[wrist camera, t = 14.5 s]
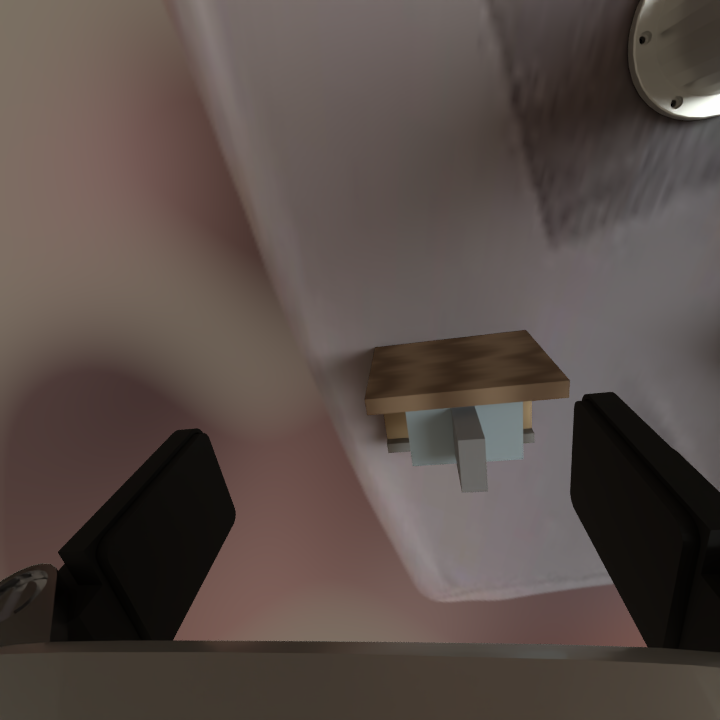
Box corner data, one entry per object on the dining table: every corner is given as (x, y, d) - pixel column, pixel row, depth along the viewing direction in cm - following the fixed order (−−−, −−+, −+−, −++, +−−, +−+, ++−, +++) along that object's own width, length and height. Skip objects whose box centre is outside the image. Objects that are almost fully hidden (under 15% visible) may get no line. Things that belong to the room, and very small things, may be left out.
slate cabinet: (501, 354, 40) (541, 422, 28) (503, 413, 43) (540, 498, 31) (404, 364, 42) (403, 433, 30) (411, 421, 44) (413, 504, 33)
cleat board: (525, 330, 41) (569, 380, 30) (526, 427, 45) (564, 502, 34) (375, 347, 44) (364, 399, 33) (389, 438, 48) (384, 510, 37)
